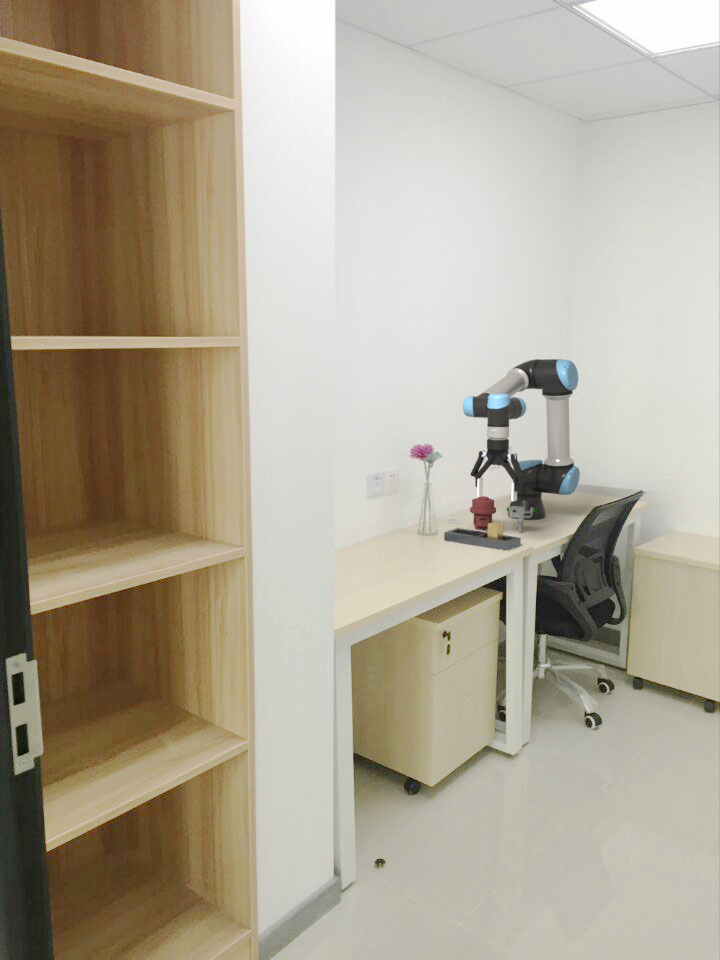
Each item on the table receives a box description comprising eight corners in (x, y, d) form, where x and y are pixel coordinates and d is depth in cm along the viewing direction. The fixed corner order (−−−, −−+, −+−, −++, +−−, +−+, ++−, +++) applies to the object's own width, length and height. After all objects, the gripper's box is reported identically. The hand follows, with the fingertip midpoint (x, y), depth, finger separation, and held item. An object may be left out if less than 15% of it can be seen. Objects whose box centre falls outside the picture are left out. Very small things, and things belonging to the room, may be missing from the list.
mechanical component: (533, 534, 313) (534, 508, 312) (506, 533, 315) (506, 507, 314) (533, 532, 316) (534, 506, 314) (506, 531, 318) (507, 505, 316)
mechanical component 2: (500, 530, 321) (477, 532, 317) (487, 525, 330) (465, 527, 326) (501, 498, 319) (478, 500, 315) (488, 494, 328) (465, 496, 324)
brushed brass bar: (493, 543, 299) (493, 521, 298) (503, 545, 296) (503, 523, 295) (487, 545, 296) (487, 523, 295) (497, 547, 293) (497, 525, 292)
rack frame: (457, 535, 311) (457, 527, 311) (520, 545, 295) (520, 537, 295) (444, 540, 304) (444, 532, 304) (507, 550, 288) (508, 542, 288)
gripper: (461, 437, 295) (460, 496, 299) (525, 441, 280) (523, 504, 283) (472, 435, 301) (471, 493, 305) (535, 439, 286) (534, 500, 289)
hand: (496, 498), depth 294 cm, fingers open, 13 cm apart
